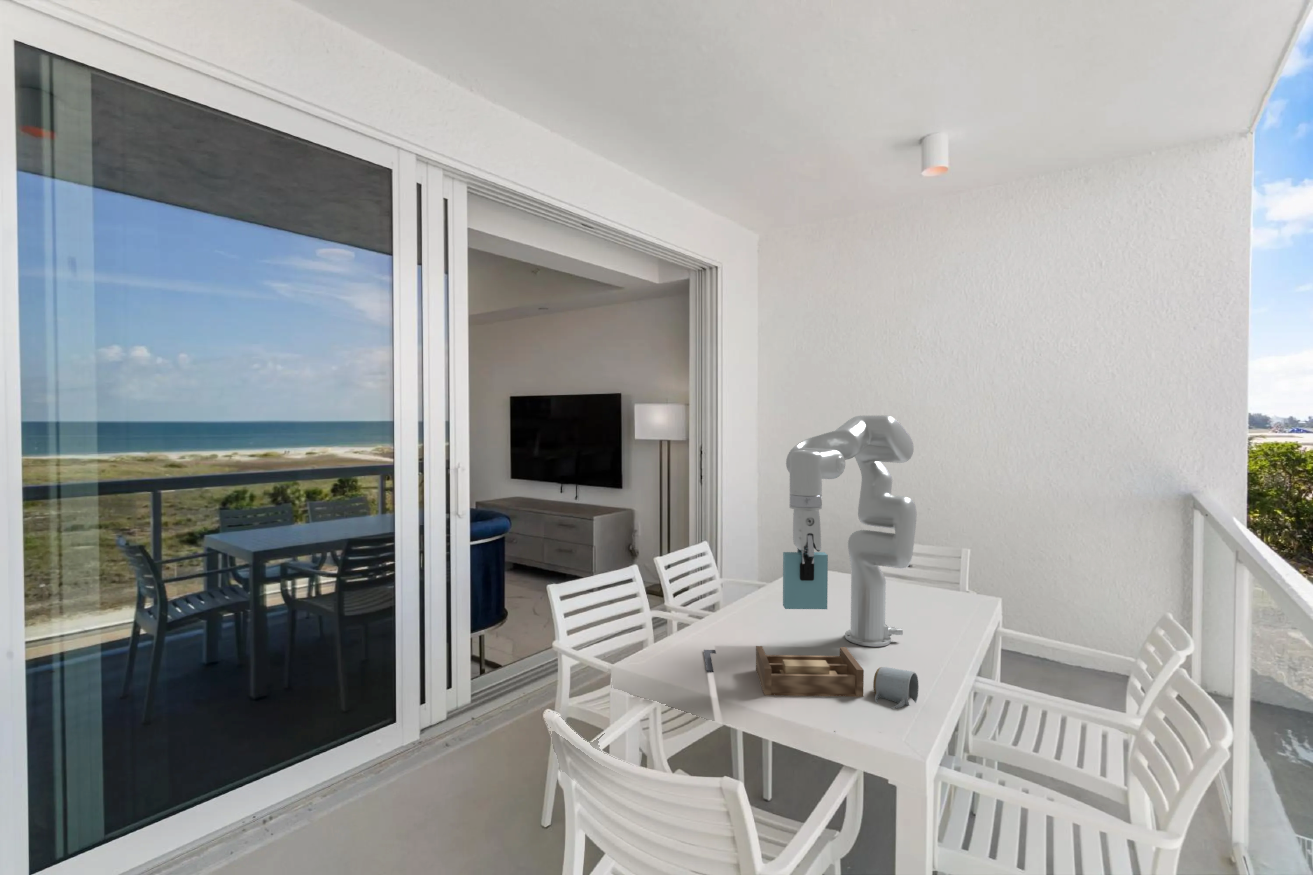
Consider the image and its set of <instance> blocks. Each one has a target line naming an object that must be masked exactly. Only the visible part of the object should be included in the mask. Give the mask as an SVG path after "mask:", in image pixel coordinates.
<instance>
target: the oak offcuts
mask: <svg viewBox="0 0 1313 875" xmlns="http://www.w3.org/2000/svg"><path fill="white" fill-rule="evenodd" d="M779 674H837V673H836V671H830V666H829V665H828V663H827V662H826V660H783V670H779Z"/></svg>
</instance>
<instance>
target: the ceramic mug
mask: <svg viewBox="0 0 1313 875" xmlns="http://www.w3.org/2000/svg"><path fill="white" fill-rule="evenodd" d="M872 683H873V685H872V687H873V688H872V689H873V693H874V701H875V703H876V704H879V702H878V699H879V698H881V699H884V700H888V701H891V702H895V703H897V704H896V705H894V706H890V707H889V708H890V709H898V708H901V707H904V706H907V707H908V706H910V702H909V698H911V699H912V700H913V702H914V703H915V704H917V701H918V697H919V689H920V688H919V678H918V675H917V672H915V671H913V670H906V669H905V670H904V669H899V668H893V667H888V666H883V667H882V666H881V667H878V668H877V669H876V671H875V673H874V676H873V681H872Z"/></svg>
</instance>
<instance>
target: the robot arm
mask: <svg viewBox="0 0 1313 875" xmlns="http://www.w3.org/2000/svg"><path fill="white" fill-rule="evenodd" d="M913 442H914V441H913V439H912V437H911V435H910V434H909V433H908V432H907V430H906V429H905V427H904V426H903V425H902V424H901V423H900V422H899V421H898V420H897V419H896V418H894V417H893V416H892V415H885V414H884V415H857V416H853V417H852V418H849V419H848V420H847V421H846V422H844V423H843V424H842V425H841V426H839V427H837V428H836V429H835V430H831V431H828V432H826V433H822V434H818V435H816V436H812V437H808V438H806V439H804V440H802V441H800V442H798V443H796V445H794V446H793V447H792V448H791V449H790V450H789V452H788V454H787V456H786V460H785V465H786V470H787V471H788V473H789V509H792V510H793V513H792V514H793V515H792V540H793V545H794V546H795V547H796V552H801V563H800V580H802V581H813V580H814V552H822V534H821V532H822V530H821V516H820V515H821V514H820V510H823V509H822V508H823V504H822V503H823V500H822V499H823V497H822V496H823V480H834V479H838V478H839V477H840V476H842V474H844V472H845V469H846V460H850V459H852V458H854V459H855V461H856V463H857V465H858V468H859V470H860V475H861V482H860V484H861V485H860V492H859V493H860V494H859V499H858V507H857V510H858V511H857V515H858V520H859V522H860V523H861V524H863V525H865V526H870V527H877V528H882V529H883V528H885V529H893V530H894V532H885V531H884V532H883V531H880V530H879V531H878V530H870V529H867V530H866V529H861V530H860V529H859V530H856V531H854V532H852V533H851V534H850V535H849V538H848V540H847V541H848V542H847V550H848V555H849V556H848V557H849V562H850V629H848V630H846V631H845V632H844V638H845V639H846V640H847V641H849V642H850V643H853V644H855V645H857V646H858V645H860V646H862V647H863V646H864V647H874V648H875V647H876V648H877V647H878V648H879V647H885V646H888V645H890V644H891V643H892V637H891V636H894V635H895V636H903V633H904V632H903V627H895V626H894V625H889V626H888V624H886V603H887V602H886V599H887V598H886V595H887V594H886V593H887V592H886V591H887V585H886V584H887V582H886V578H885V574H884V573H883V571H882V569H881V568H880V567H881V566H882V567H886V568H893V569H902V570H903V569H906V568H908V567H909V566H910V565H911V562H912V560H913V554H914V548H915V547H914V546H915V537H916V536H915V535H916V527H917V526H916V525H917V518H918V517H917V515H918V514H917V507H916V504H915V502H914V500H913V499H912V498H911V497H908V496H904V495H897V494H896V495H895V494H892V488H893V477H892V474H891V473H890V471H889V470H888V468H887V467H886V466H885V464H884V463H893V464H894V463H895V464H896V463H897V464H900V463H906V462H909V461H910V460H911V458H912V457H913V455H914V454H913V453H914V447H915V446H914V443H913ZM804 553H807V554H805V557H804Z"/></svg>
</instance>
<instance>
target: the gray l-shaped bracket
mask: <svg viewBox="0 0 1313 875" xmlns="http://www.w3.org/2000/svg"><path fill="white" fill-rule="evenodd" d="M712 654H713V655H714V654H717V651H716V649H703V656H704V663H705V668H706V669H705V670H706V673H714V672H715V671H714V666H713V662H712Z"/></svg>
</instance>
